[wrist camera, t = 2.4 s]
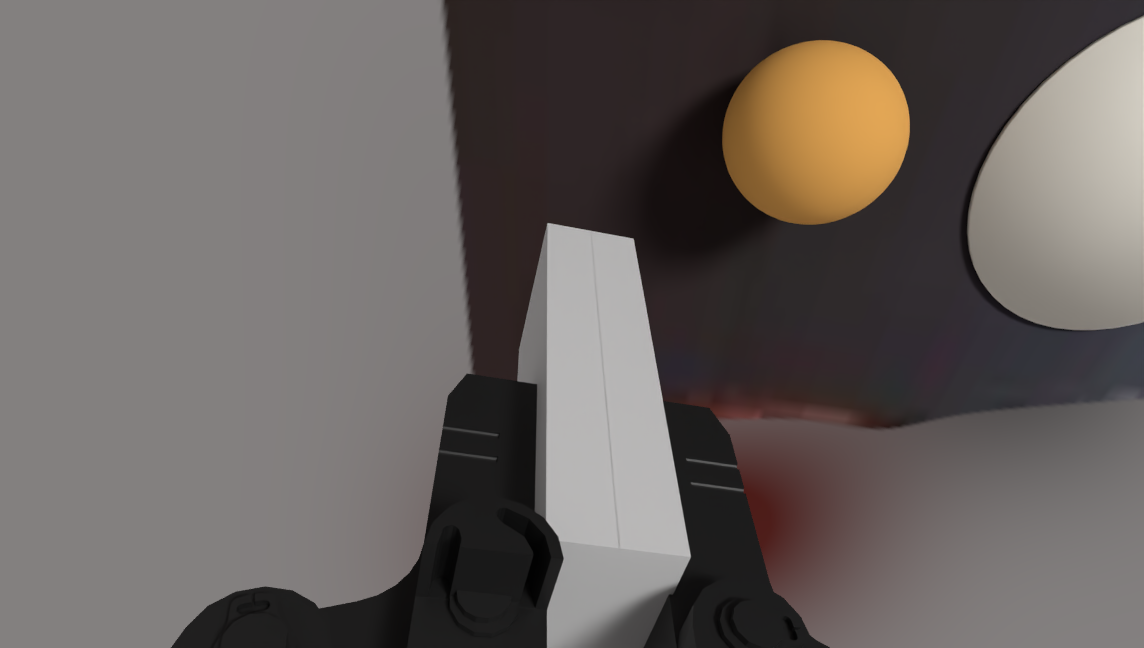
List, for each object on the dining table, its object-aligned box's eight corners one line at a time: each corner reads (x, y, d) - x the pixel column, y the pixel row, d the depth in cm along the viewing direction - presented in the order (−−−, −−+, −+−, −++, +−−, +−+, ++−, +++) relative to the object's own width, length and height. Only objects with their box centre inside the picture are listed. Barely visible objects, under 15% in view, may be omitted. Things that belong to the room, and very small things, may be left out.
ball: (902, 39, 25) (978, 98, 20) (833, 191, 28) (885, 271, 23) (741, 1, 24) (783, 54, 20) (688, 162, 27) (714, 239, 23)
